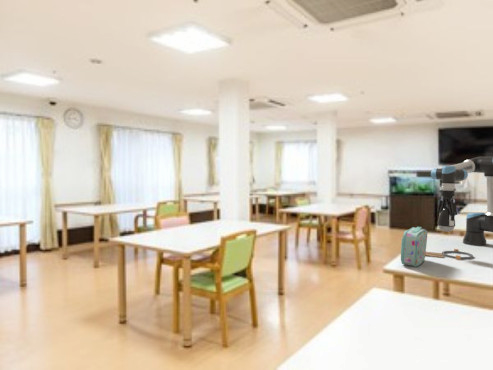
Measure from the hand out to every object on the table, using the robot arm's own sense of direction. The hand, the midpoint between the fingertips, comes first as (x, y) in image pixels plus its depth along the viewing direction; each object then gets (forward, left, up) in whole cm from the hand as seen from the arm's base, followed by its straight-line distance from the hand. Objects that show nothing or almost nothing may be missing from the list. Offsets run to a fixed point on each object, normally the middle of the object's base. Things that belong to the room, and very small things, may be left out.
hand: (446, 224), depth 253 cm
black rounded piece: (0, 0, -4) cm, 4 cm away
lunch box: (+28, -18, -21) cm, 40 cm away
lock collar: (-3, +7, -20) cm, 22 cm away
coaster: (+2, -6, -20) cm, 22 cm away
